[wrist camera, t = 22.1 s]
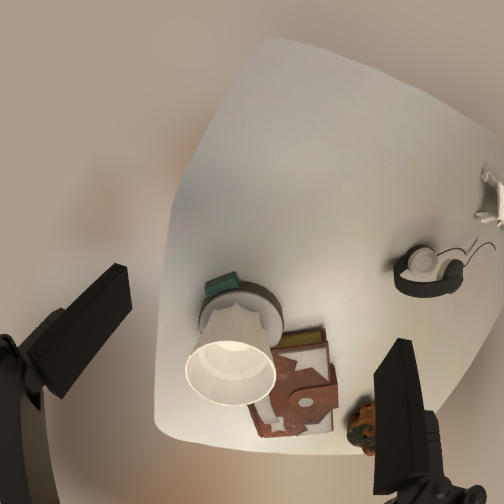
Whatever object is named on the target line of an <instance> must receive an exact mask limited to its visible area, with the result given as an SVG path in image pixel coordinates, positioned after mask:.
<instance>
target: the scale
mask: <svg viewBox="0 0 504 504" xmlns="http://www.w3.org/2000/svg"><path fill="white" fill-rule="evenodd" d="M205 291H206V293H207V295H208V296H207V298H206V299H205V301H204V303H203V306H202V309H201V313H200V316H199V330H200V334H202V333H203V331H204V328H205V327H206V326H207V324H208V322H209V319H210V317H211V314H212V312H213V309H217V310H221V309H225V308H228V307H231V306H233V305H234V304H235V303H236V302H237V303H238V304H239V305H240V306H241V307H242V308H245V309H247V310H249V311H252V312H259V316H260V323H261V325H262V327H263V328H264V329H265V330H266V331H267V335H268V340H269V346H270V348H272V347H276V345H277V344H278V342H279V341H280V339H281V336H282V333H283V329H284V321H283V315H282V309H281V306H280V304H279V302H278V300H277V299H276V298H275V296H274V295H273V294H272V293H271V292H269V291H268V290H267V289H265V288H263V287H262V286H259V285H257V284H254V283H249V282H240V281H239V279H238V277H237V275H236V273H235V272H233V273H230V274H228V275H225V276H222V277H220V278H217V279H215V280H212V281H209V282H207V283H206V286H205Z"/></svg>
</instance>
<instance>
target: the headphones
mask: <svg viewBox="0 0 504 504" xmlns="http://www.w3.org/2000/svg"><path fill="white" fill-rule="evenodd" d="M476 241H477V240H476ZM488 243H489V242H488ZM485 244H487V243H485ZM490 244H492V243H490ZM483 245H484V244H483ZM483 245H481V246H483ZM492 245H493V244H492ZM473 246H474V245H473ZM481 246H480V247H481ZM493 246H494V245H493ZM480 247H479V248H480ZM479 248H478V249H479ZM453 249H460V250H462V251H463V252H464V253H465V251H464V250H463V249H461V248H453ZM453 249H449V250H446V251H444V252H447V251H450V250H453ZM471 249H472V248H471ZM478 249H477V250H478ZM494 249H495V246H494ZM477 250H476V251H477ZM495 250H496V249H495ZM476 251H475V252H476ZM444 252H442V253H444ZM469 252H470V251H469ZM475 252H474V253H475ZM442 253H440V254H442ZM440 254H438V255H440ZM438 255H436V254H435V252H434V250H433V249H431V248H430V247H428V246H423V245H422V246H418V247H416V248H414V249H413V250H411V251H410V253H409V254H408V255H405V256H404V257H402V258H401V259H399V260H398V261H397V262H396V263H395V265H394V269H393V271H394V282H395V286H396V288H397V289H398V290H399V291H400V292H402V293H403V294H406V295H408V296H412V297H418V298H431V297H437V296H441V295H444V294H447V293H449V294H452V293H454V292H455V291H456V290H458V288H459V287H460V285H461V284H462V281H463V267H465V266H466V265H467V264H468V263H467V264H466V265H463V262H462V261H460V260H457V259H447V260H446V261H444V263H443V264H442V265H441V267H440V269H439V271H438V274H437V278H436V281H433V282H414V281H410V280H407V279H404V278H402V277H401V276H400V274H401V273H402V272H403V271H405V270H406V269H408V270H409V271H410V272H411V273H412V274H414V275H416V276H420V277H421V276H426V275H429V274H431V273H432V272H433V271H434V269H435V268H436V266H437V263H438V257H437V256H438ZM465 255H467V254H466V253H465ZM473 255H474V254H473ZM473 255H472V256H473ZM472 256H471V257H472ZM470 259H471V258H470ZM470 259H469V260H470ZM468 262H469V261H468Z"/></svg>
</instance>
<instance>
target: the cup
mask: <svg viewBox="0 0 504 504" xmlns="http://www.w3.org/2000/svg"><path fill="white" fill-rule="evenodd" d="M185 374H186V377H187V381H188V383H189V384H190V386H191V387H192V389H193V390H194V391H195V392H197V393H198V394H199V395H200V396H201V397H203V398H205V399H207V400H208V401H211V402H214V403H216V404H220V405H226V406H243V405H248V404H252V403H254V402H257V401H259V400H261V399H262V398H264V397H265V396H266V395H268V394H269V392H270V391H271V390H272V388H273V387H274V384H275V381H276V369H275V365H274V361H273V357H272V354H271V351H270V346H269V340H268V335H267V331H266V330H265V329H264V328H263V327H262V325H261V323H260V316H259V312H252V311H249V310H247V309H245V308H242V307H241V306H240V305H239V304H238V303H237V302H236V303H235V304H234V305H233V306H231V307H228V308H225V309H221V310H217V309H213V312H212V314H211V317H210V319H209V322H208V324H207V326H206V327H205V328H204V331H203V333H202V334H201V336H200V338H199V339H198V341H197V343H196V345H195V347H194V349H193V351H192V353H191V355H190V356H189V359H188V361H187V363H186V369H185Z"/></svg>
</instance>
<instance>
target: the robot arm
mask: <svg viewBox="0 0 504 504" xmlns="http://www.w3.org/2000/svg"><path fill="white" fill-rule="evenodd" d="M131 310H132V302H131V296H130V287H129V280H128V271H127V267H126V266H123V265H120V264H117V263H114V264H113V265H112V266H111V267H110V268H109V269H108V270H107V271H105V272H104V273H103V274H102V275H101V276H100V277H99V278H98V279H97V280H96V281H95V282H94V283H93V284H92V285H91V286H89V288H87V289H86V290H85V291H84V292H83V293H82V294H81V295H80V296H79V297H78V298H77V299H76V300H75V301H74V302H73V303H72V304H71V305H70V306H69V307H68V308H67V309H66V310H65V309H62V308H59V309H58V310H56V311H54V312H52V313H51V314H50V315H49V316H48V317H47V318H46V319H45V320H44V322H42V323H41V324H40V325H39V327H37V328H36V329H35V330H34V331H33V332H32V333H31V334H30V335H29V336H28V337H27V338H26V340H25V341H23V343H22V344H21V345H20V346H19V347H18V348H17V346H16V344H15V342H14V340H13V339H12V337H11V336H9V335H8V334H1V335H0V502H1V504H60V501H59V497H58V494H57V489H56V485H55V480H54V476H53V470H52V465H51V459H50V453H49V446H48V439H47V430H46V420H45V408H44V392H43V389H42V387H43V386H44V385H46V386H47V388H48V389H49V391H50V392H51V393H53V394H54V395H56V396H57V397H59V398H60V399H63V397H64V396H65V395H66V393H67V392H68V391H69V389H70V388H71V386H72V385H73V384H74V382H75V381H76V380H77V378H78V377H79V376H80V374H81V373H82V372H83V370H84V369H85V368H86V367H87V365H88V364H89V363H90V361H91V360H92V359H93V357H94V356H95V355H96V354H97V352H98V351H99V350H100V348H101V347H102V346H103V345H104V343H105V342H106V341H107V339H108V338H109V337H110V336H111V334H112V333H113V332H114V331H115V329H116V328H117V327H118V326H119V325H120V323H121V322H122V321H123V320H124V318H125V317H126V316H127V315H128V313H129V312H130V311H131ZM374 392H375V470H374V488H373V495H390V494H392V493H394V492H396V491H397V497H395V498H393V499H391V500H388V501H387V502H386V503H384V504H389V503H390V504H485V503H486V498H487V495H486V491H485V489H484V488H483V487H482V486H480V485H475V486H472V487H471V488H469V489H464V488H461V487H457V486H454V485H452V483H451V481H450V480H449V479H448V478H447V477H445V476H444V471H443V460H442V449H441V442H440V434H439V425H438V420H437V418H436V416H435V414H434V412H433V411H429V410H424V405H423V398H422V392H421V386H420V380H419V374H418V369H417V364H416V359H415V354H414V350H413V345H412V341H411V340H406V339H401V338H397V340H396V342H395V343H394V345H393V346H392V348H391V349H390V351H389V352H388V354H387V355H386V357H385V358H384V360H383V361H382V363H381V364H380V366H379V367H378V369H377V370H376V371H375V373H374Z"/></svg>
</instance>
